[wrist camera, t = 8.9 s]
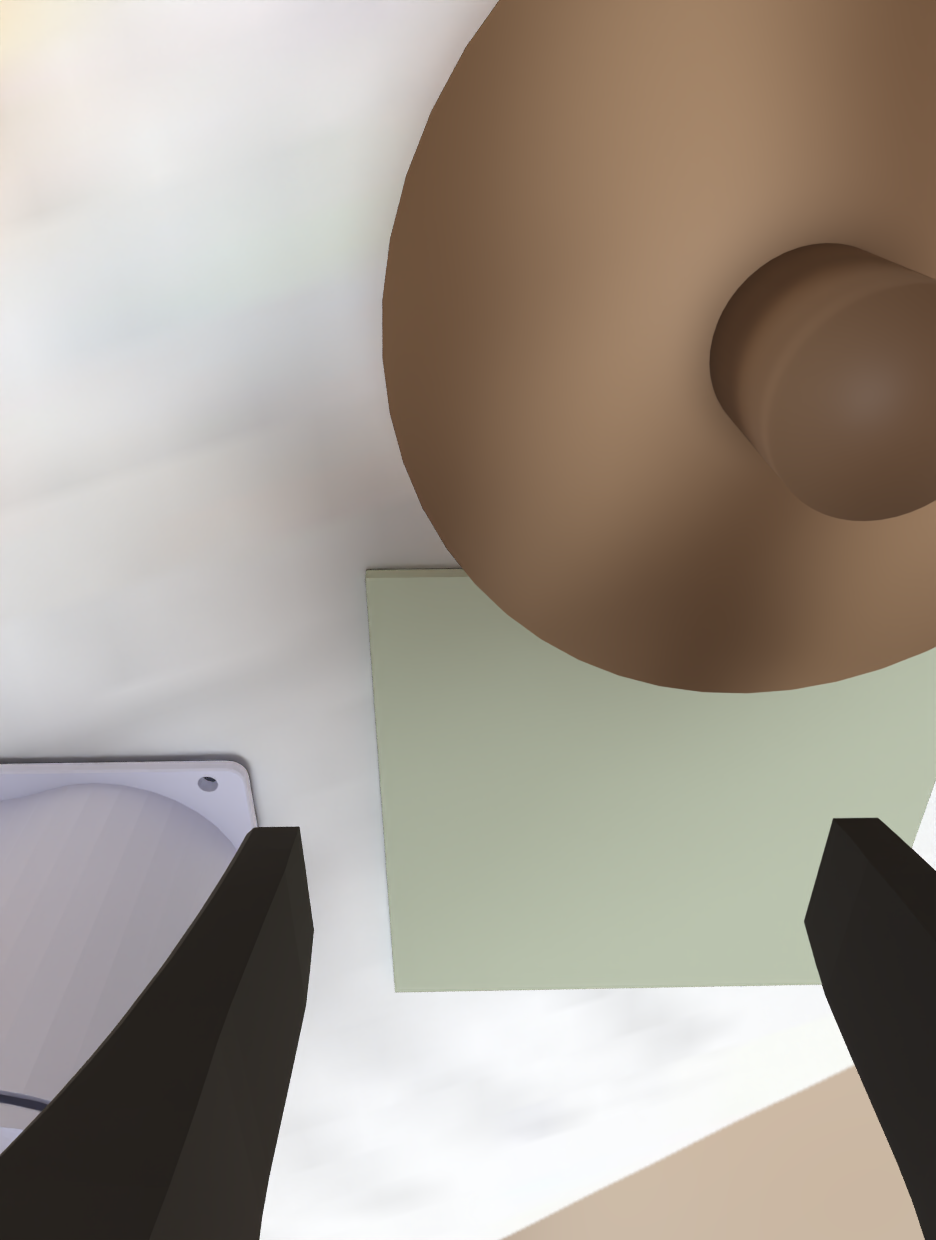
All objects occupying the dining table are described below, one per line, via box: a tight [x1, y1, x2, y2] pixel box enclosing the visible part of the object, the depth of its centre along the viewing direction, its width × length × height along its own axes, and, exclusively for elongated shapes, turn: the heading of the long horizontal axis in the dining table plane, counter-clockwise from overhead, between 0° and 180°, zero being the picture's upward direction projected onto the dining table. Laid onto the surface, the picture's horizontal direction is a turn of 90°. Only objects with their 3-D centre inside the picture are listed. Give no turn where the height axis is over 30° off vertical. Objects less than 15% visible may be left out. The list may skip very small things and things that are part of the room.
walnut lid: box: [382, 0, 936, 693], centre depth 13 cm, size 13×13×4 cm
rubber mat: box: [365, 569, 936, 992], centre depth 25 cm, size 15×15×1 cm
